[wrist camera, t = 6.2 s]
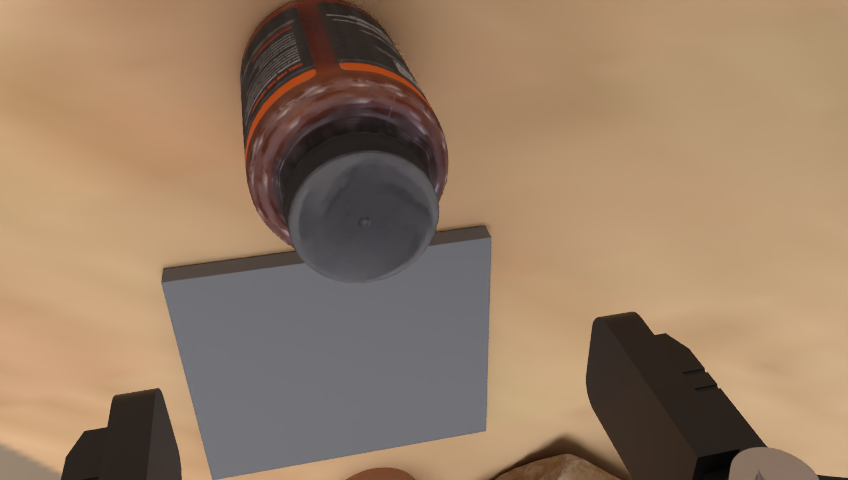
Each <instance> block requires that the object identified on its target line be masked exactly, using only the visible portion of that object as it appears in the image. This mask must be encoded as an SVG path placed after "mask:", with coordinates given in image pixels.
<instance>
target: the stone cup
mask: <svg viewBox="0 0 848 480" xmlns="http://www.w3.org/2000/svg"><path fill="white" fill-rule="evenodd" d="M495 480H621V479H619V478H617V477H615V476H613V475H611V474H610V473H608V472H606V471H604V470H602V469H600V468H598V467H597V466H595V465H593V464H591V463H590V462H588V461H586V460H584V459H583V458H580V457H577V456H575V455H572V454H562V455H557V456H553V457H549V458H546V459H541V460H537V461H534V462H531V463H529V464H526V465H523V466H521V467H518V468H514V469H512V470H511V471H509V472H507V473H504V474H502V475H500V476H499V477H497V478H496V479H495Z"/></svg>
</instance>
